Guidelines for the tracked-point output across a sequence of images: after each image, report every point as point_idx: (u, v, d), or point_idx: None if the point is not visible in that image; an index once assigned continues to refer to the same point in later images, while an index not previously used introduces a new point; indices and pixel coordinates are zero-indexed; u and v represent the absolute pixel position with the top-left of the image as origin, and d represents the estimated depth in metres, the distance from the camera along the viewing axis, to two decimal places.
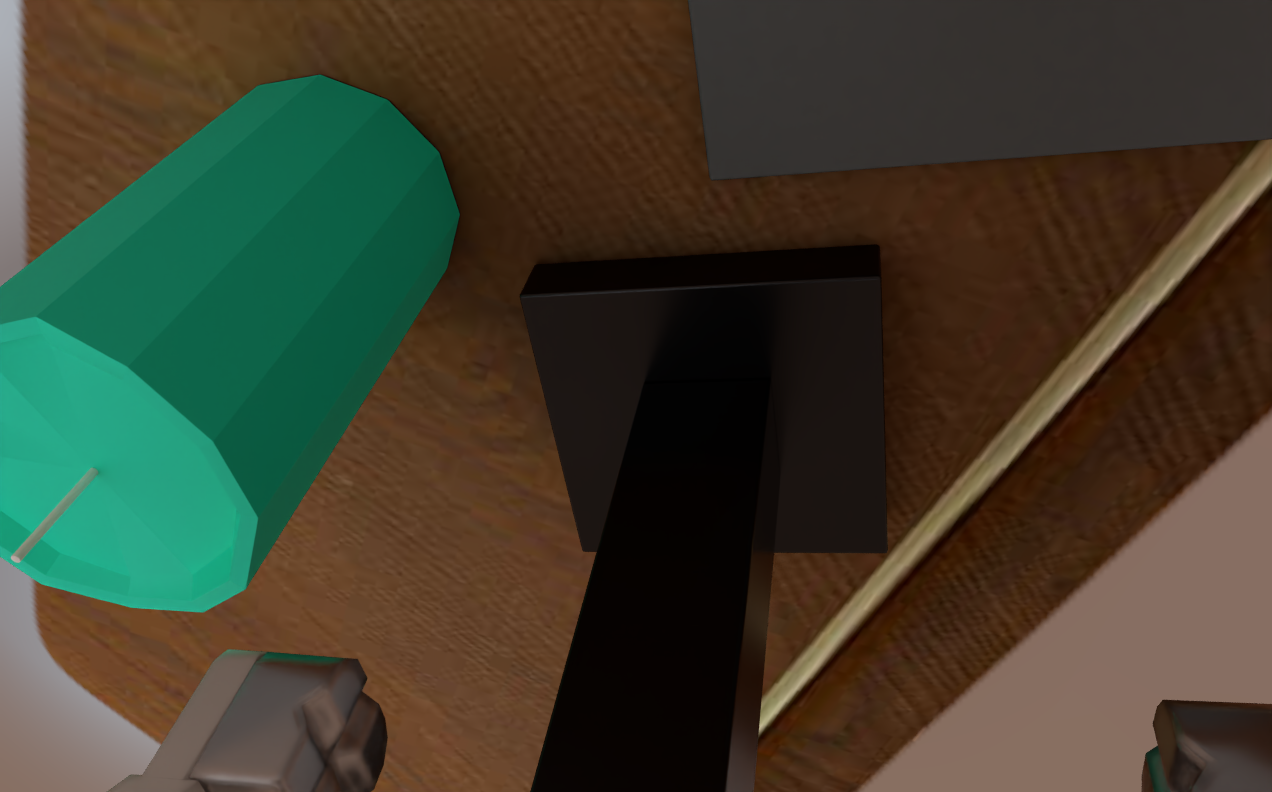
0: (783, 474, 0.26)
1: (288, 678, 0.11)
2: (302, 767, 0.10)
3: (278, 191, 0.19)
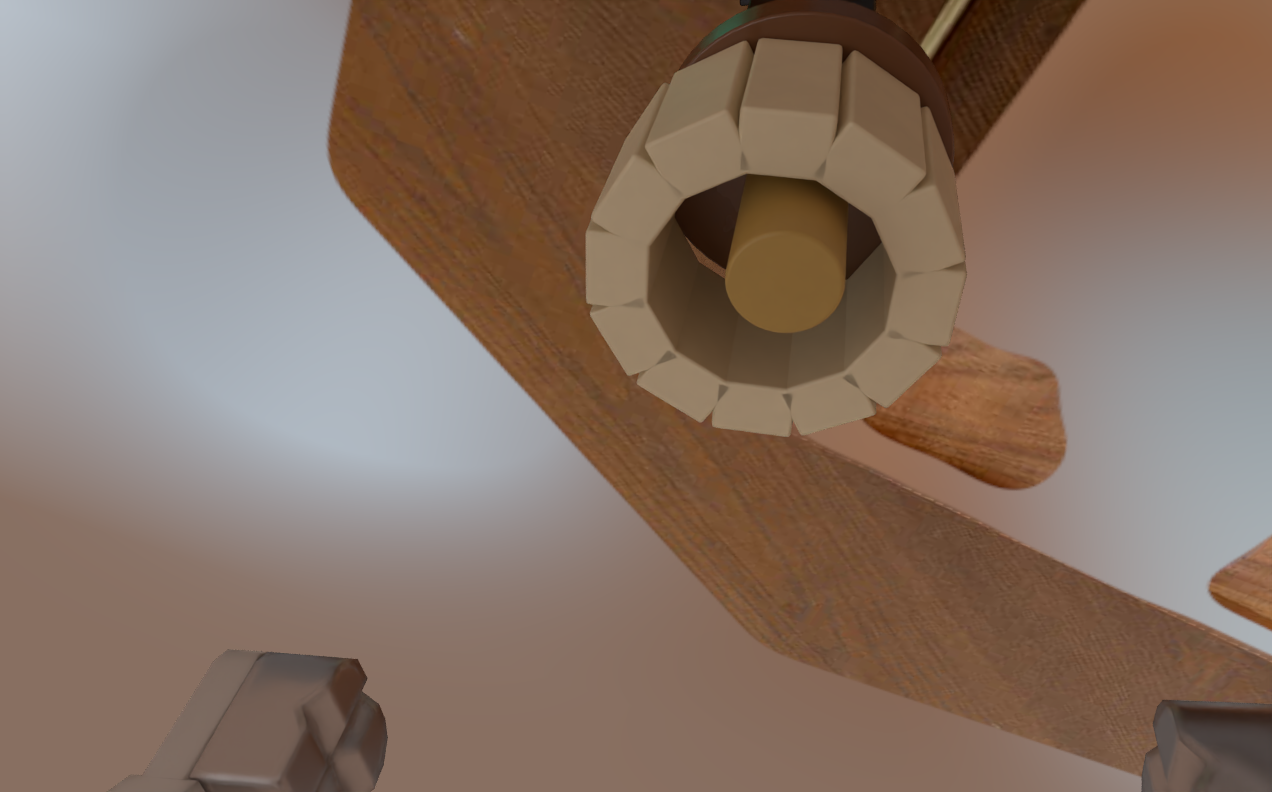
0: None
1: (288, 678, 0.11)
2: (302, 767, 0.10)
3: None
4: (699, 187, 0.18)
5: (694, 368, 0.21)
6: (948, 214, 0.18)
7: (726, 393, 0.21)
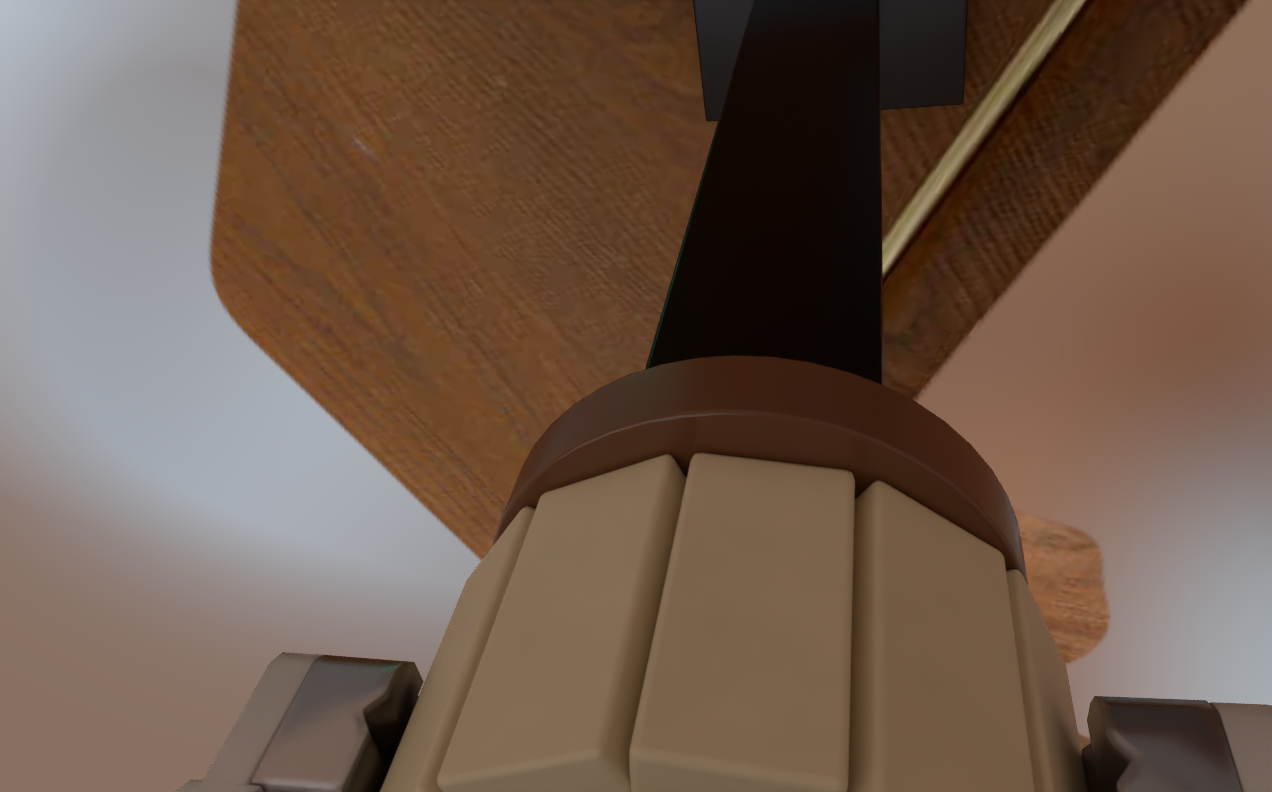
0: (882, 25, 0.31)
1: (346, 681, 0.11)
2: (364, 772, 0.10)
3: None
4: None
5: None
6: None
7: None
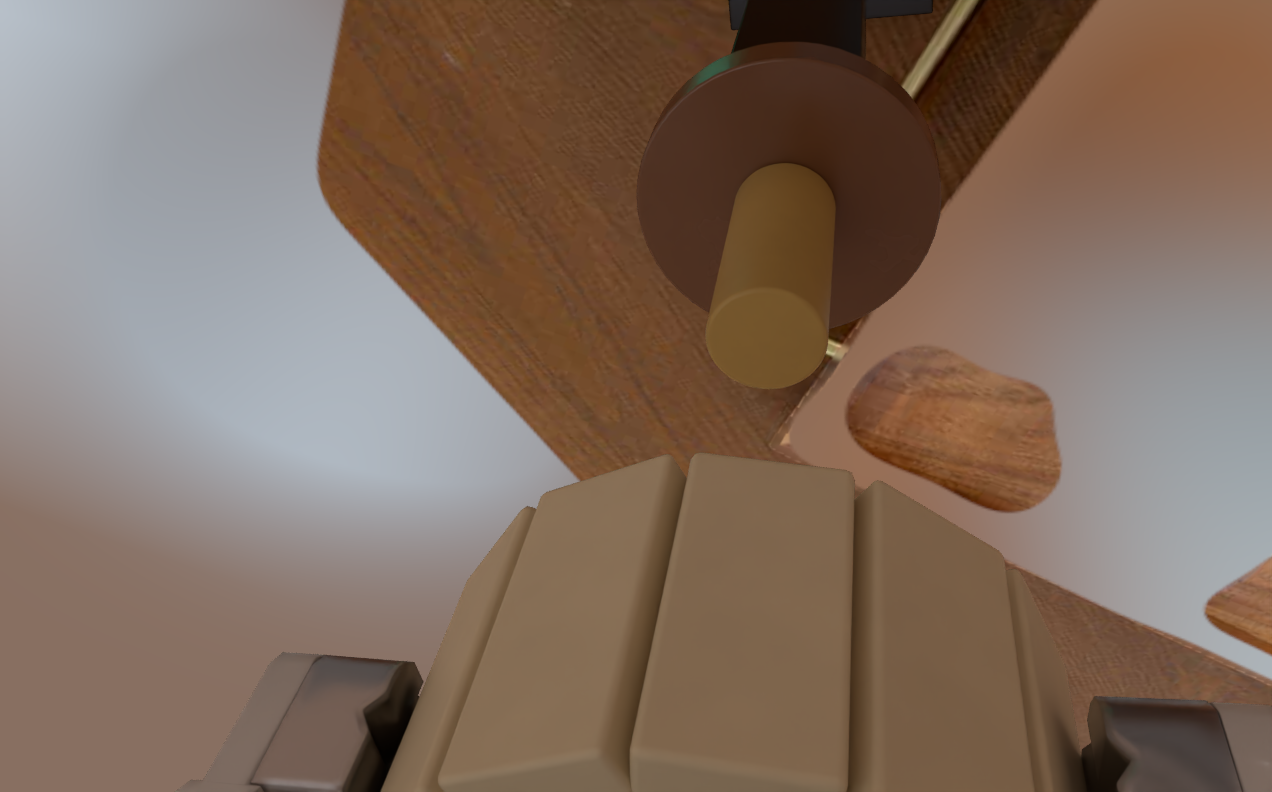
0: None
1: (347, 681, 0.11)
2: (364, 772, 0.10)
3: None
4: None
5: None
6: None
7: None
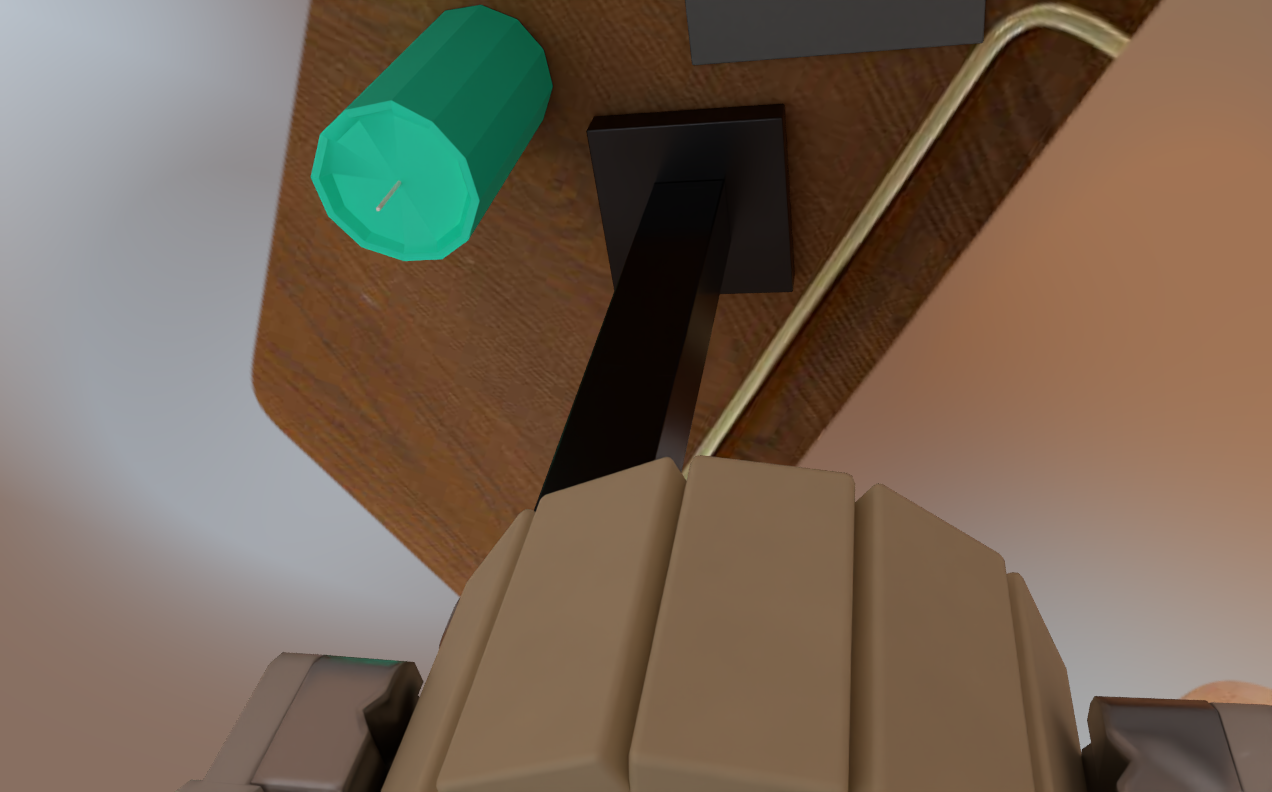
0: (732, 240, 0.45)
1: (347, 681, 0.11)
2: (364, 772, 0.10)
3: (474, 59, 0.39)
4: None
5: None
6: None
7: None
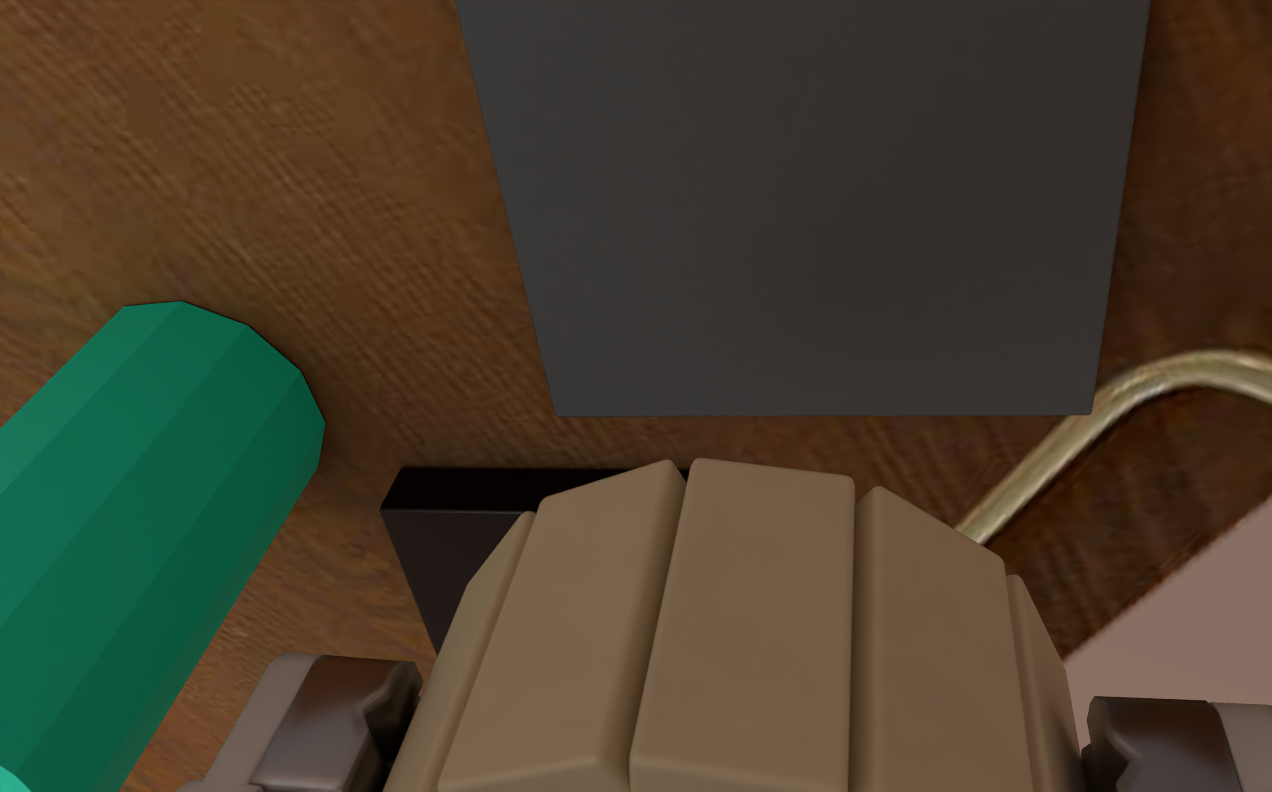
0: None
1: (347, 681, 0.11)
2: (365, 772, 0.10)
3: (115, 465, 0.20)
4: None
5: None
6: None
7: None
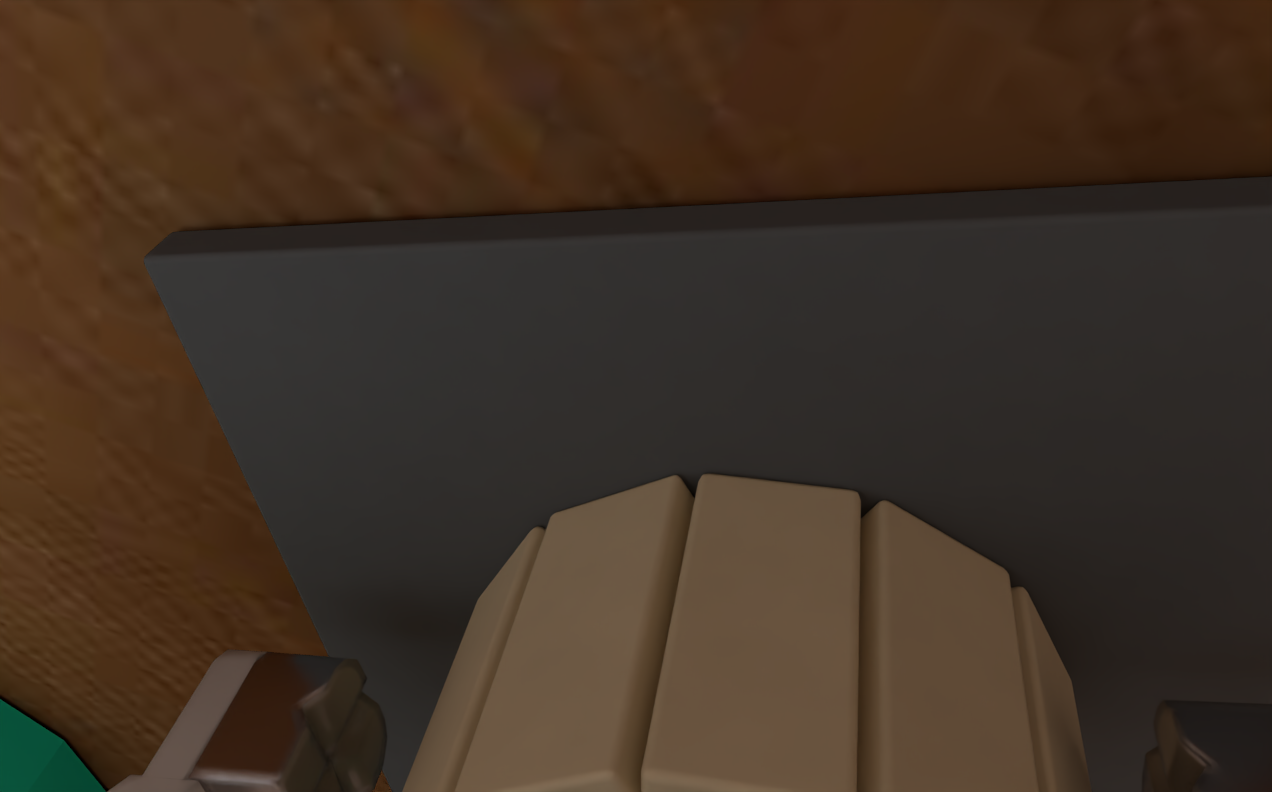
0: None
1: (288, 678, 0.11)
2: (302, 767, 0.10)
3: None
4: None
5: None
6: None
7: None
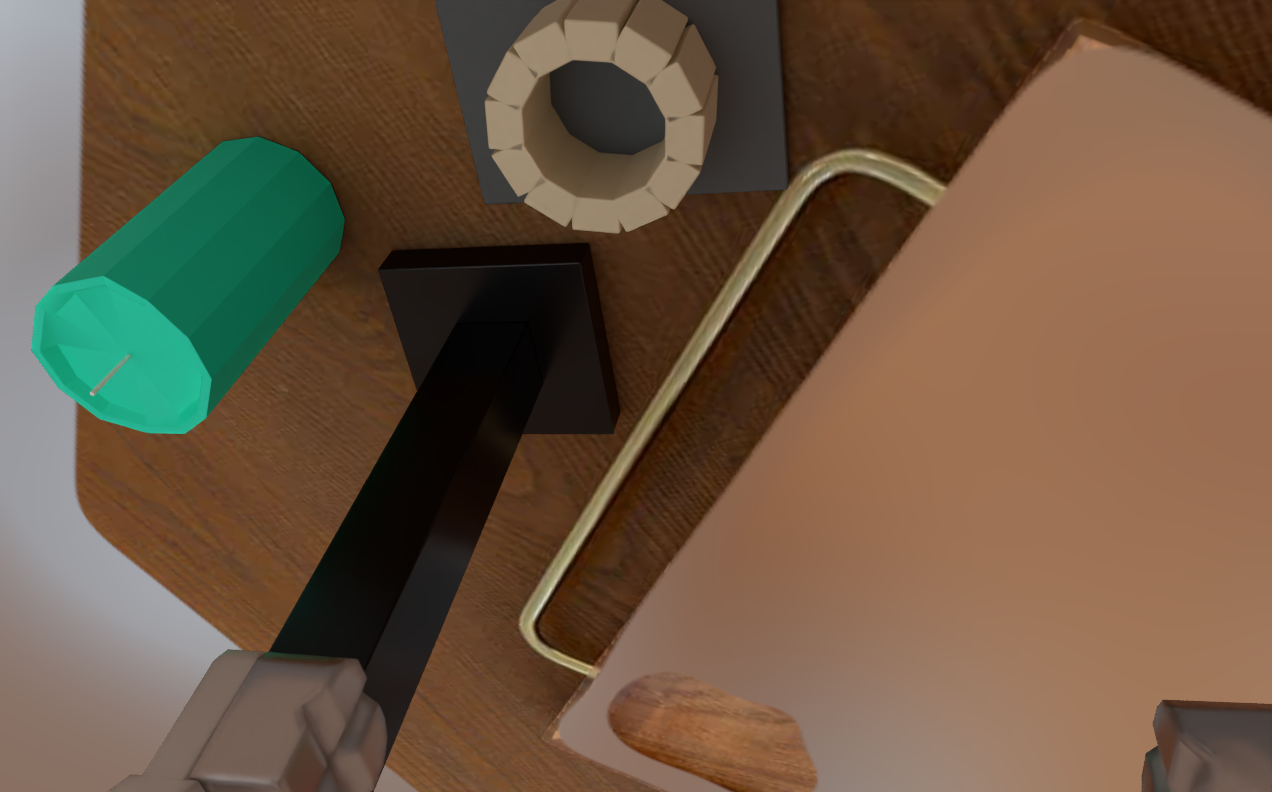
0: (544, 382, 0.42)
1: (289, 678, 0.11)
2: (302, 767, 0.10)
3: (228, 210, 0.35)
4: (546, 69, 0.31)
5: (557, 189, 0.34)
6: (688, 80, 0.31)
7: (578, 205, 0.34)
